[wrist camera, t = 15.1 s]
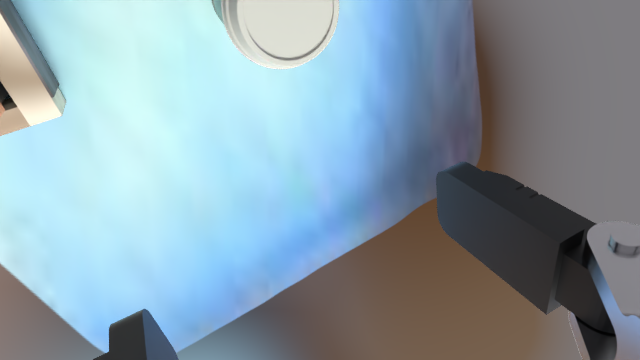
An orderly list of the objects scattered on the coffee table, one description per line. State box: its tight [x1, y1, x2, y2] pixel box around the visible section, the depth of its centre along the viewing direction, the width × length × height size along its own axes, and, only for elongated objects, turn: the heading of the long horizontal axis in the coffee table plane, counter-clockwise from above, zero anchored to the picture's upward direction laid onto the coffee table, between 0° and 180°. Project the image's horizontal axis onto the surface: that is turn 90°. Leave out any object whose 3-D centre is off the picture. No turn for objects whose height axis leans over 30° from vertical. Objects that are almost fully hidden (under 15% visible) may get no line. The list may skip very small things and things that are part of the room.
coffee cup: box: [212, 0, 339, 69], centre depth 32 cm, size 8×8×12 cm
